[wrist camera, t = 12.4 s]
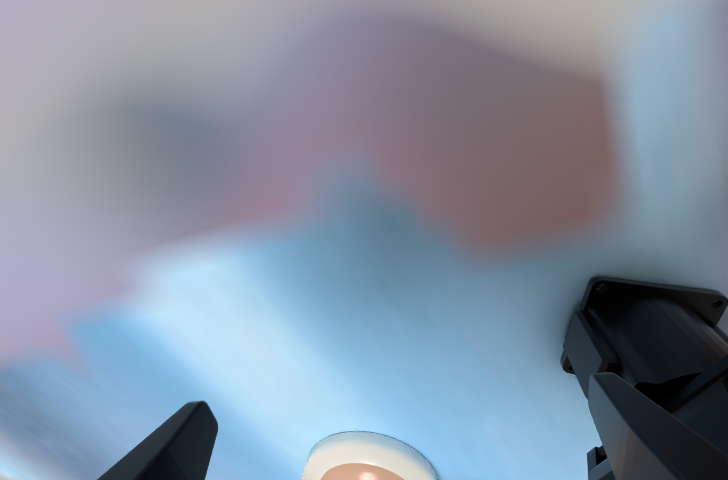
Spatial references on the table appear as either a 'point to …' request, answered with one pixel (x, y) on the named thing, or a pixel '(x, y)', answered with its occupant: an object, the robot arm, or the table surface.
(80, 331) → the table surface
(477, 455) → the table surface
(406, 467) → the dish
